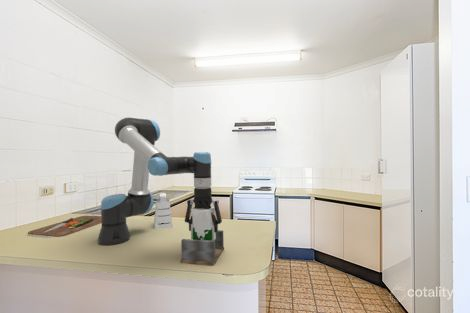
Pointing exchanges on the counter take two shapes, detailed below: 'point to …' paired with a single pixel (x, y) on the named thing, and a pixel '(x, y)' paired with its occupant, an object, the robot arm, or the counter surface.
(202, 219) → the soya milk
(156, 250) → the counter surface
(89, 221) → the chopping board
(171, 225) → the grater
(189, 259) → the carton caddy
